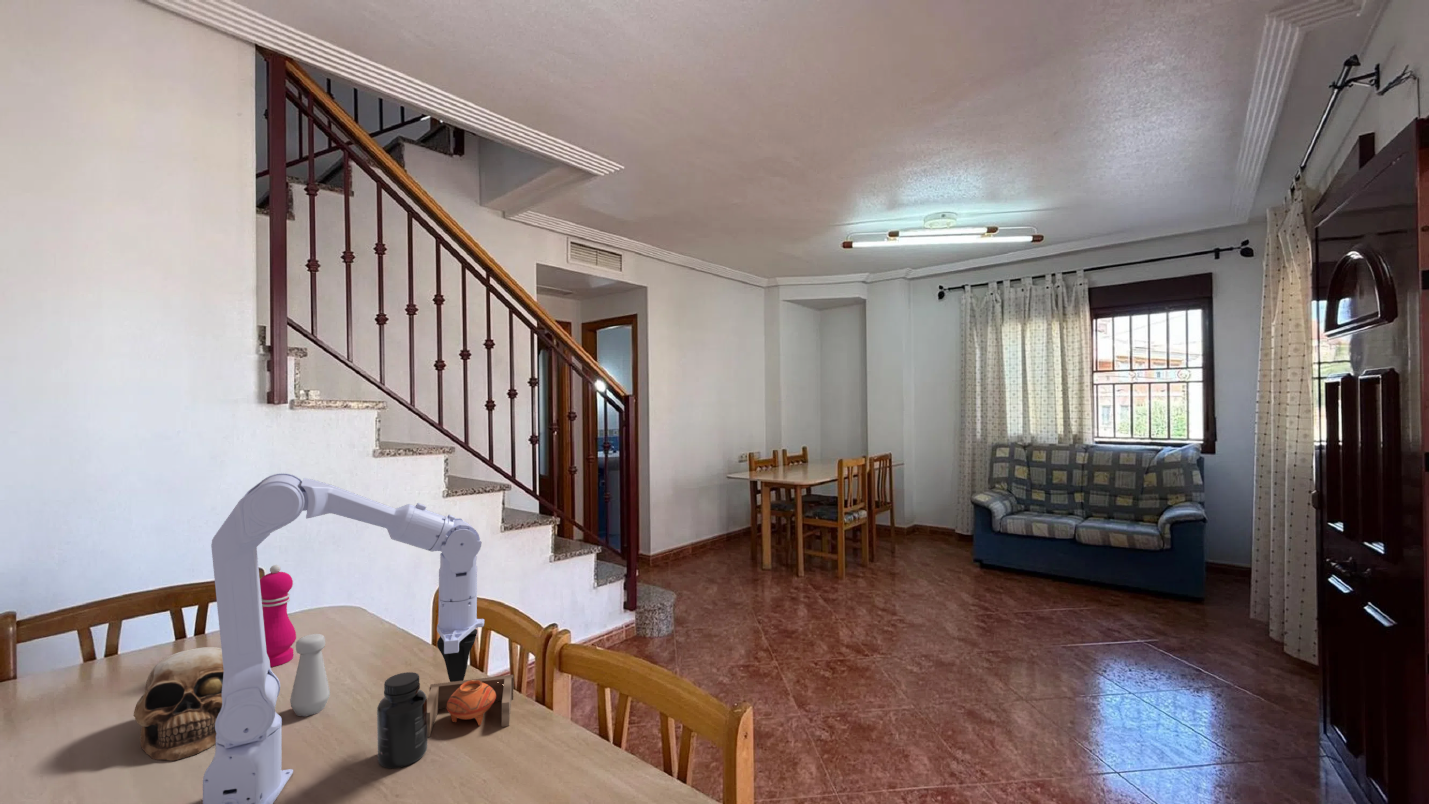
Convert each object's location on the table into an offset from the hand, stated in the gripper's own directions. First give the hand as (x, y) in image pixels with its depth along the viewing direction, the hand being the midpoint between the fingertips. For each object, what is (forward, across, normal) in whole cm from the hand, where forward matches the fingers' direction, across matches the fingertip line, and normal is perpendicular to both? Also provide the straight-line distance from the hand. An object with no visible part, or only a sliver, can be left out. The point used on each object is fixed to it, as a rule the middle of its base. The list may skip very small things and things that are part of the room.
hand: (457, 679), depth 96 cm
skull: (+10, +14, +42) cm, 46 cm away
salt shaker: (+10, +16, +26) cm, 32 cm away
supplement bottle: (+10, -3, +7) cm, 13 cm away
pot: (+10, +5, -2) cm, 11 cm away
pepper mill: (+10, +39, +40) cm, 57 cm away
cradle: (+9, +6, -1) cm, 11 cm away
